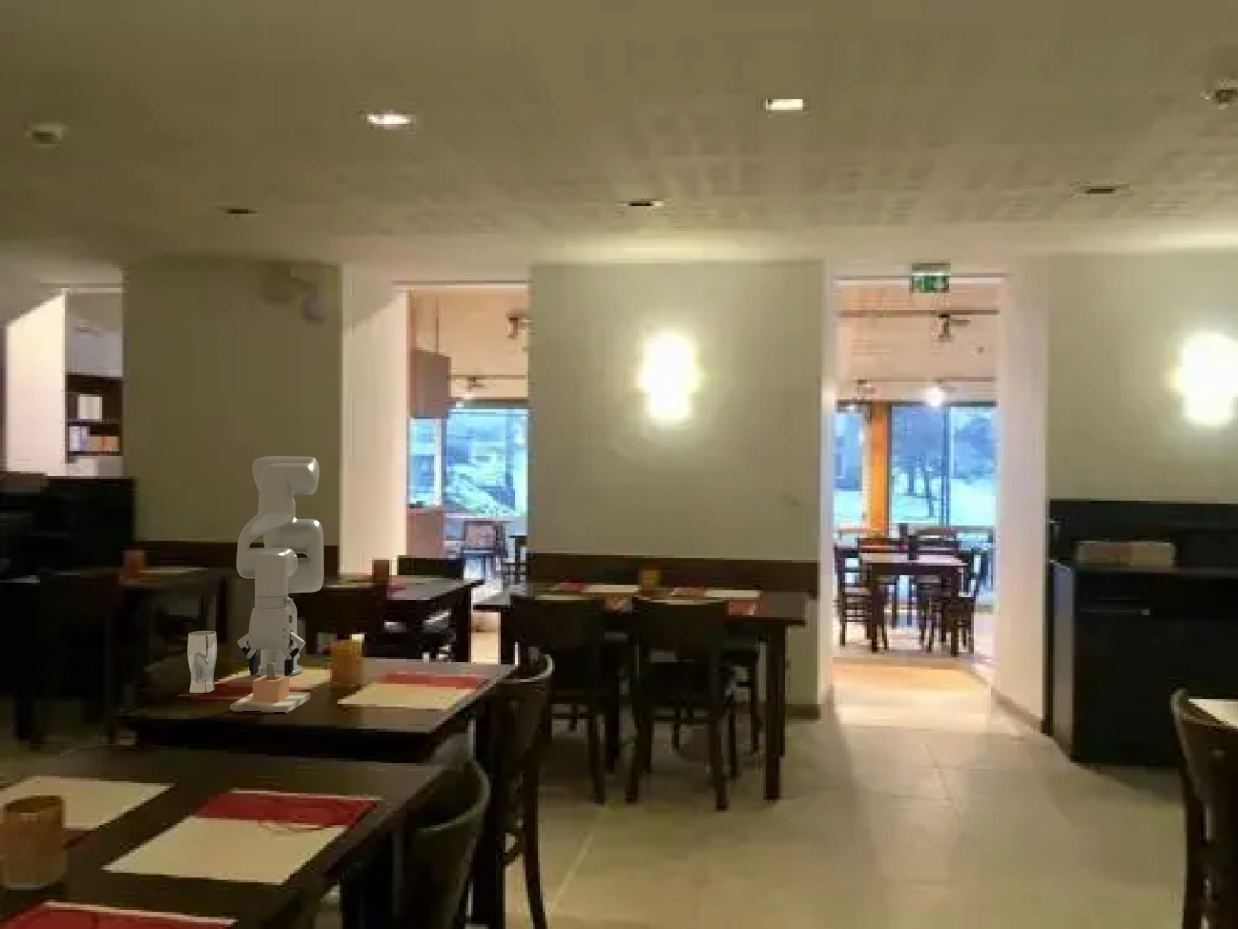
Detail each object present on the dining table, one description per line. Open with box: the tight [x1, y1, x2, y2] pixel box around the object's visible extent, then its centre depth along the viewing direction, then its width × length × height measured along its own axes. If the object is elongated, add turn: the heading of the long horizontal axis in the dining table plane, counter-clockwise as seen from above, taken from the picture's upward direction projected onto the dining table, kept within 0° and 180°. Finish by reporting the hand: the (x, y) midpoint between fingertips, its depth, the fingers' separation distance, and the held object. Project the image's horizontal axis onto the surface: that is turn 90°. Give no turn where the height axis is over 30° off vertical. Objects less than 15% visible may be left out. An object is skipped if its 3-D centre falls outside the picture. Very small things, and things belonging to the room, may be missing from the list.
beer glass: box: [187, 630, 218, 694], centre depth 268 cm, size 7×7×15 cm
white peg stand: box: [229, 663, 311, 714], centre depth 255 cm, size 14×14×10 cm
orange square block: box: [252, 675, 290, 702], centre depth 255 cm, size 6×6×5 cm
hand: (271, 674), depth 255 cm, fingers open, 8 cm apart
